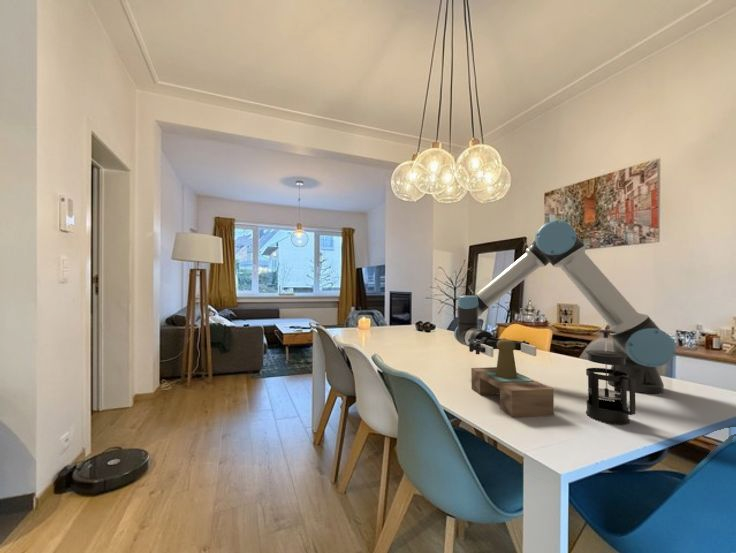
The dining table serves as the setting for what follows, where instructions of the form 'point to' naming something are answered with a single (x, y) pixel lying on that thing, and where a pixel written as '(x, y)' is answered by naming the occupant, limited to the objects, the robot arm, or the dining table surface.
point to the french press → (602, 408)
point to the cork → (506, 359)
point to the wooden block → (514, 393)
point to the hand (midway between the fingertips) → (513, 351)
